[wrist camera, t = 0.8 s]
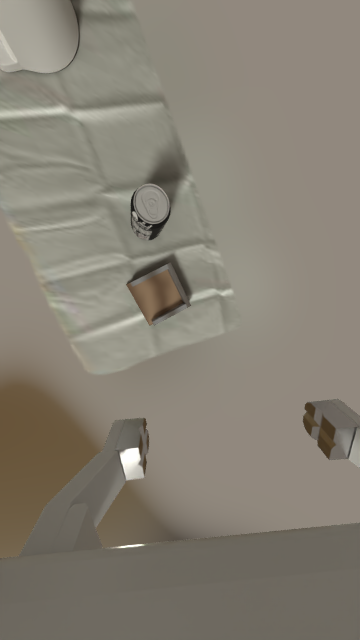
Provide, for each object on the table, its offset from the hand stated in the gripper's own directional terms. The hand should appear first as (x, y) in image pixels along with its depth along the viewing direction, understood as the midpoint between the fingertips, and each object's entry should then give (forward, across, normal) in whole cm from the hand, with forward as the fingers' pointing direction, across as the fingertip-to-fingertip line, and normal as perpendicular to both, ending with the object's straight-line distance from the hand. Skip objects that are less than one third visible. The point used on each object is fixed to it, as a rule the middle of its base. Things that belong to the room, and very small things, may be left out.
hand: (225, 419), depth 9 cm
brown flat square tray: (+37, +6, -1) cm, 38 cm away
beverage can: (+38, +7, -16) cm, 42 cm away
